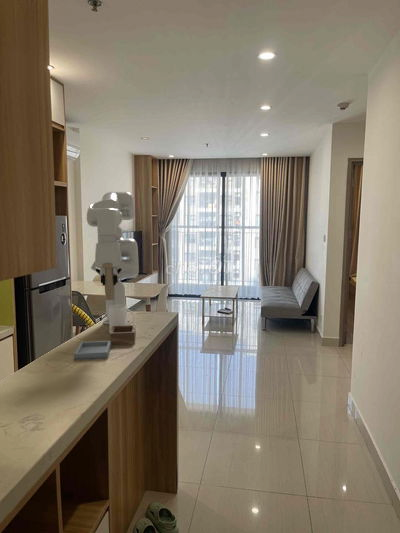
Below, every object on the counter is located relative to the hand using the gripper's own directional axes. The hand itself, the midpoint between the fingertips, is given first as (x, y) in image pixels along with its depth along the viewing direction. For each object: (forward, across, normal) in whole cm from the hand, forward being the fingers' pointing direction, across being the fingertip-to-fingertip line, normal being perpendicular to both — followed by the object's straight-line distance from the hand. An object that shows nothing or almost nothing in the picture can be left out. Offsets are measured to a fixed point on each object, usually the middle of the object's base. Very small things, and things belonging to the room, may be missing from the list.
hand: (109, 284), depth 158 cm
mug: (+26, -3, -19) cm, 32 cm away
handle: (+6, 0, 0) cm, 6 cm away
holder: (+26, -4, -6) cm, 27 cm away
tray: (+26, +6, +8) cm, 28 cm away
